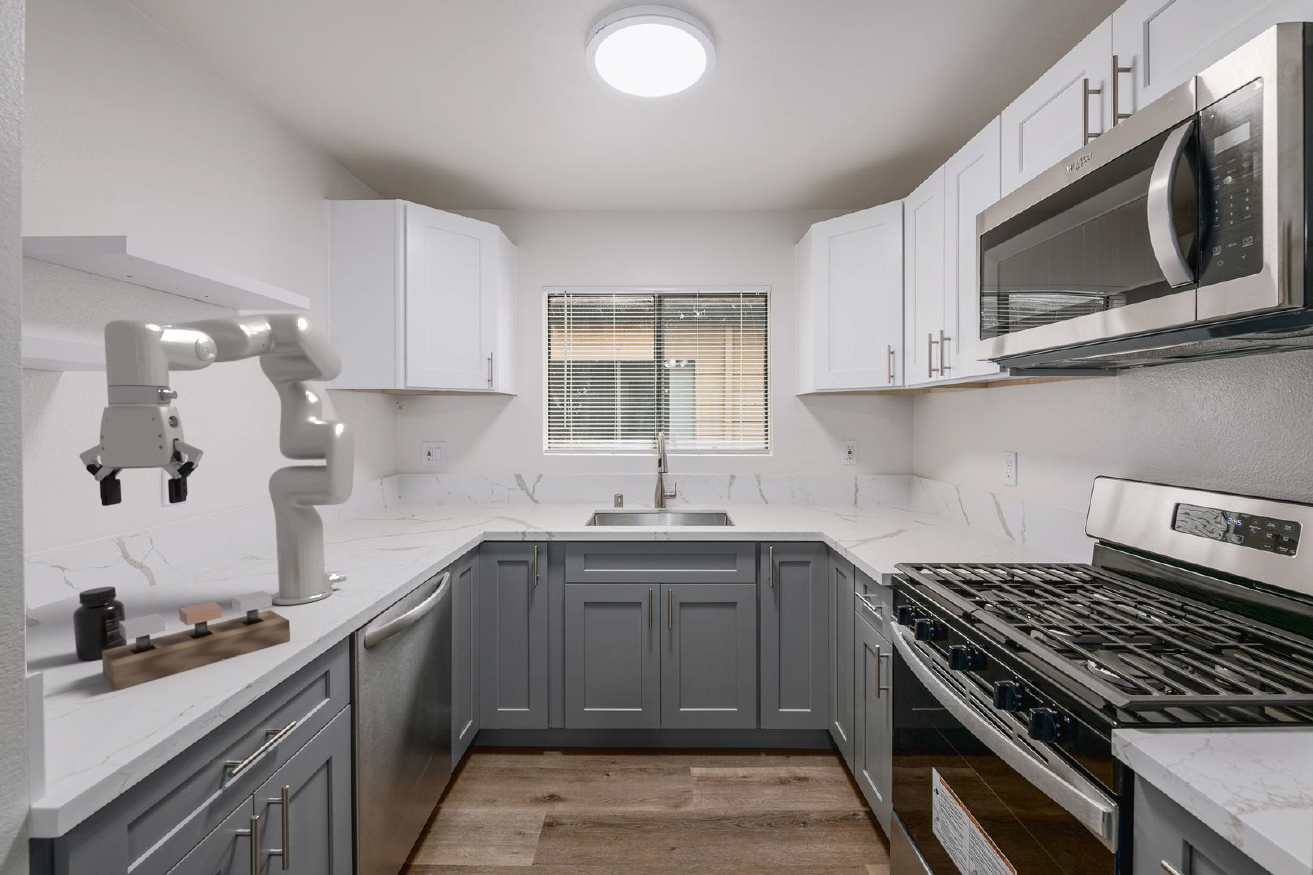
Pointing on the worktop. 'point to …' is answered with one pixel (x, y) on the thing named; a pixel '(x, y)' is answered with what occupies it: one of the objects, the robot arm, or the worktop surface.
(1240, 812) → the worktop surface
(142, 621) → the button
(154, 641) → the button panel
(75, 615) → the supplement bottle
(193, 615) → the middle button
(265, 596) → the button
